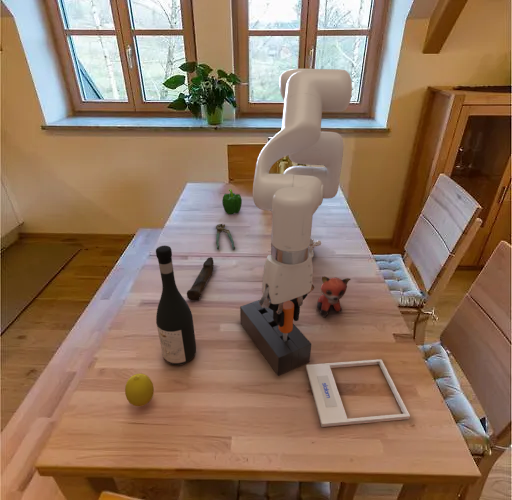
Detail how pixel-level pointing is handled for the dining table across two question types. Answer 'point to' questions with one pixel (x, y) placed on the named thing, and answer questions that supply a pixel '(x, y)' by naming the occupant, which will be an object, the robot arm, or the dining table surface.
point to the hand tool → (201, 280)
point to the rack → (274, 339)
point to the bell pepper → (232, 202)
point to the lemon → (139, 389)
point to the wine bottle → (173, 315)
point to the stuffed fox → (331, 294)
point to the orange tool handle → (287, 319)
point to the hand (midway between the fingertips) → (286, 319)
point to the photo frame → (330, 399)
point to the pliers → (221, 228)
